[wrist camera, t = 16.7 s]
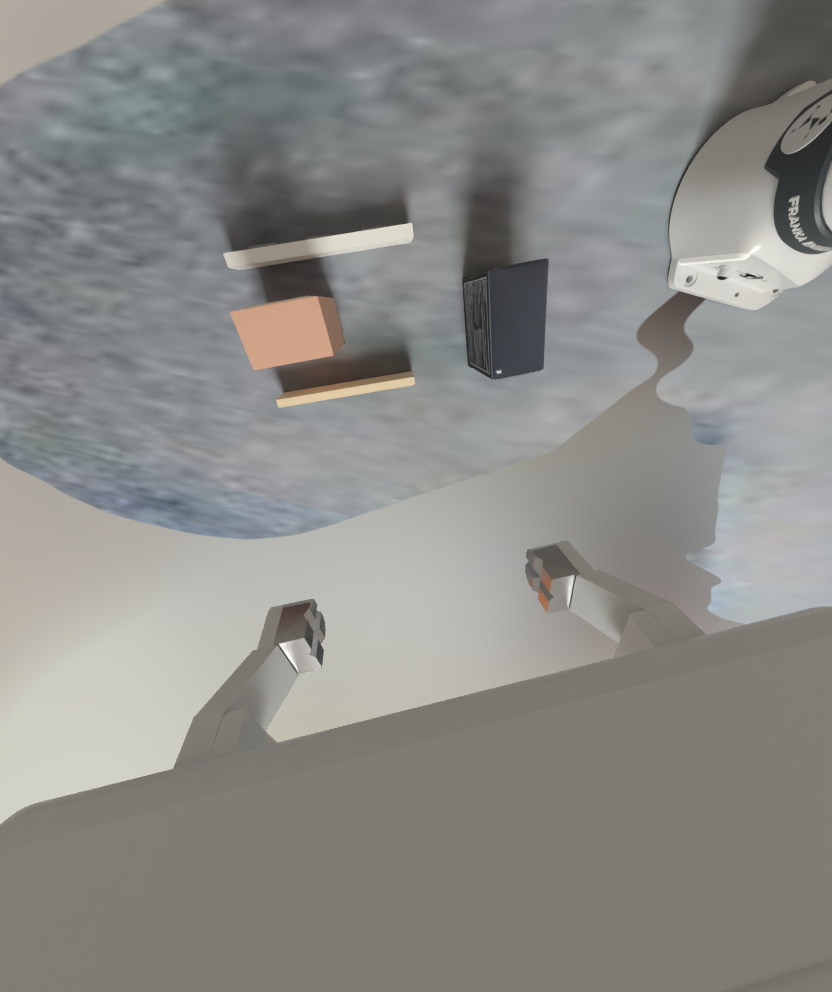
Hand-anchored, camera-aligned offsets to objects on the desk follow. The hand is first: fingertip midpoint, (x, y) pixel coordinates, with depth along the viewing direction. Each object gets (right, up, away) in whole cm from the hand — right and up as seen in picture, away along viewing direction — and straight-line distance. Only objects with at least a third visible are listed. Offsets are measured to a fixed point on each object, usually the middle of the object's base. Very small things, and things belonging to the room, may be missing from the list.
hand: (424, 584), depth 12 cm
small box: (+9, +27, +29) cm, 41 cm away
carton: (-14, +25, +28) cm, 40 cm away
